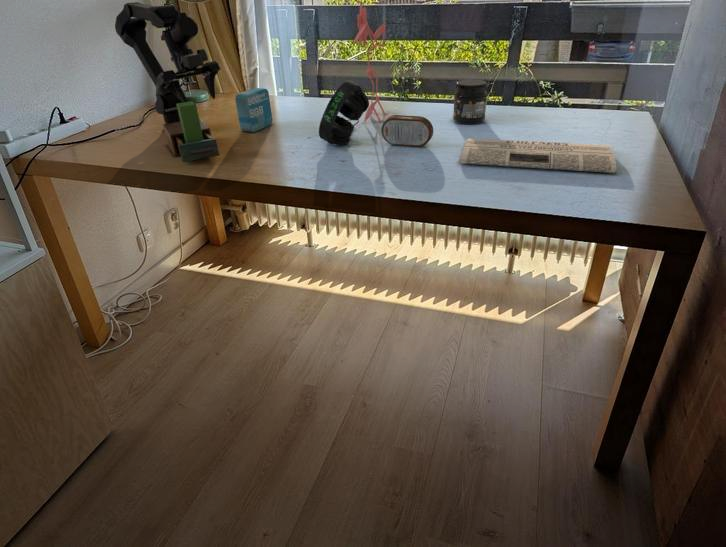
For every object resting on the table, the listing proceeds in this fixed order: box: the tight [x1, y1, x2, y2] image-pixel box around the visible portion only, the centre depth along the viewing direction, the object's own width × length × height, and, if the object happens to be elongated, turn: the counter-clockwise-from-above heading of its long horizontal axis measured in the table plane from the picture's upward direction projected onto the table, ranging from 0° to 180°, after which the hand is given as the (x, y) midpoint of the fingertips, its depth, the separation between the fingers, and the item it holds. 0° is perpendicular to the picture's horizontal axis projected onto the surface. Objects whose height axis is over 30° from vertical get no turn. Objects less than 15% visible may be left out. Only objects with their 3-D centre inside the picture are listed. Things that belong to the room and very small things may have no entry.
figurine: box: [352, 3, 387, 123], centre depth 162 cm, size 15×26×35 cm, turn 168°
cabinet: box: [162, 118, 212, 157], centre depth 150 cm, size 13×11×6 cm
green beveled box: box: [176, 100, 204, 143], centre depth 139 cm, size 4×4×13 cm
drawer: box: [174, 131, 220, 163], centre depth 141 cm, size 16×10×5 cm, turn 28°
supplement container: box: [452, 79, 488, 125], centre depth 159 cm, size 10×10×12 cm
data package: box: [234, 87, 273, 133], centre depth 163 cm, size 12×4×12 cm, turn 152°
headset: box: [318, 79, 370, 147], centre depth 146 cm, size 18×14×29 cm
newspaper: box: [459, 138, 617, 174], centre depth 129 cm, size 37×19×3 cm, turn 73°
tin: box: [380, 114, 434, 148], centre depth 141 cm, size 15×3×8 cm, turn 71°
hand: (201, 101), depth 151 cm, fingers open, 9 cm apart
